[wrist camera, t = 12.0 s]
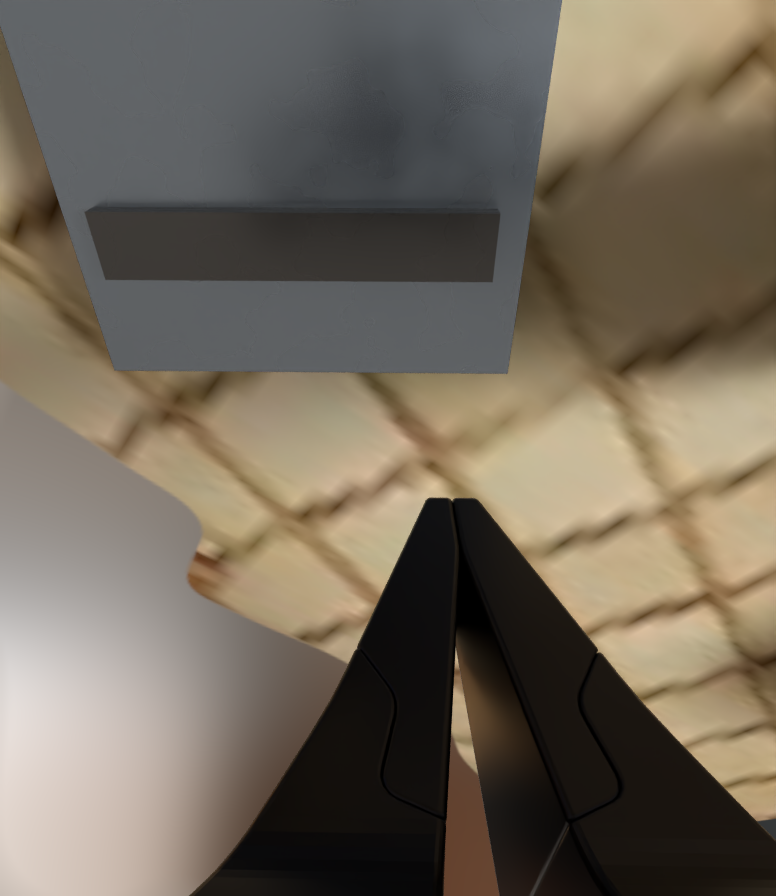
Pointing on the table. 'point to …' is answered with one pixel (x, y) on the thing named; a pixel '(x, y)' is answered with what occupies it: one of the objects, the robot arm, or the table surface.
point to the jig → (293, 174)
